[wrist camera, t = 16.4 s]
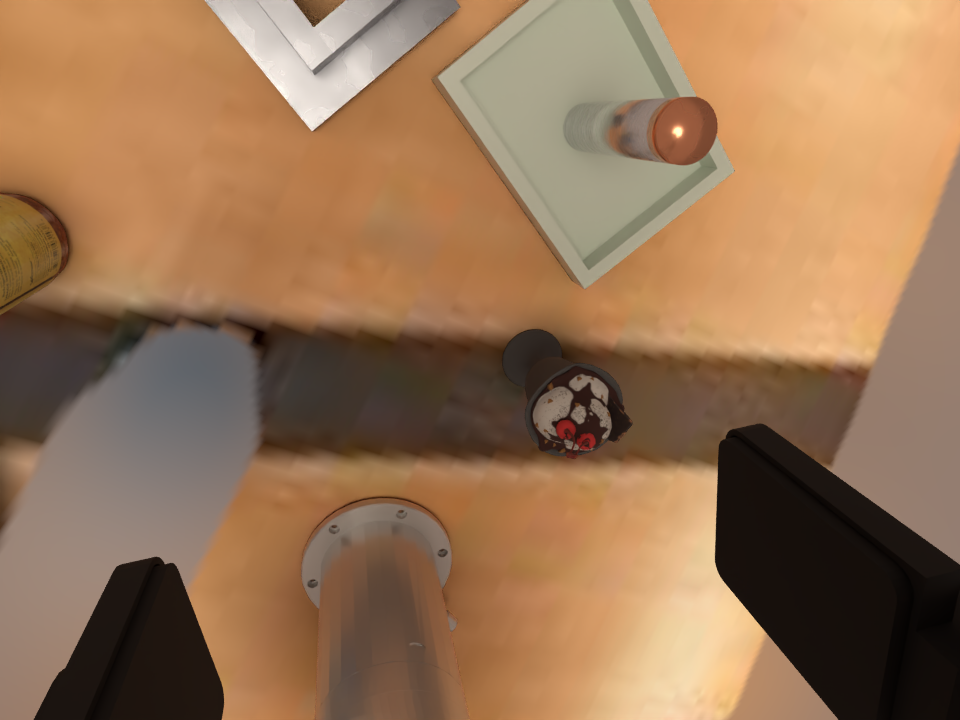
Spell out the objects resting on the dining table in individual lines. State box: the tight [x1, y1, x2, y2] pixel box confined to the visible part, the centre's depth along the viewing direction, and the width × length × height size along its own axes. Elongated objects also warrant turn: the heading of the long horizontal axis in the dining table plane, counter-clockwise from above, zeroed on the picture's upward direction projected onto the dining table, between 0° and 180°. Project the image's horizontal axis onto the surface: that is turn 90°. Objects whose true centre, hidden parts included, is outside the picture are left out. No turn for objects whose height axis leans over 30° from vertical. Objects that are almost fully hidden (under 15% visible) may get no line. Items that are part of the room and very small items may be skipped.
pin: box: [563, 97, 717, 166], centre depth 37 cm, size 3×3×14 cm
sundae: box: [503, 330, 632, 459], centre depth 43 cm, size 7×7×15 cm
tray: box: [431, 0, 735, 289], centre depth 43 cm, size 18×14×3 cm
